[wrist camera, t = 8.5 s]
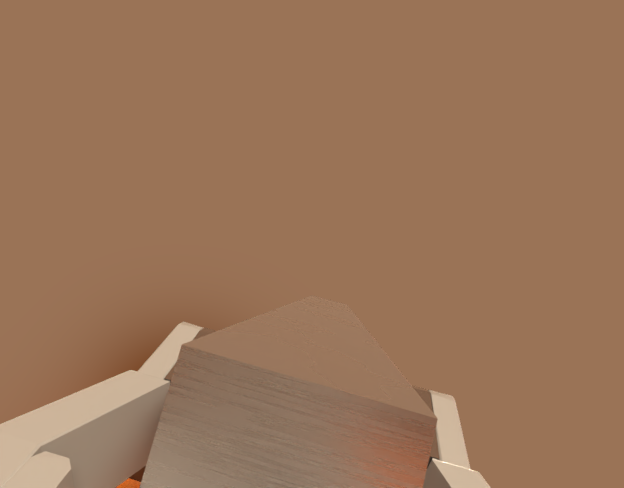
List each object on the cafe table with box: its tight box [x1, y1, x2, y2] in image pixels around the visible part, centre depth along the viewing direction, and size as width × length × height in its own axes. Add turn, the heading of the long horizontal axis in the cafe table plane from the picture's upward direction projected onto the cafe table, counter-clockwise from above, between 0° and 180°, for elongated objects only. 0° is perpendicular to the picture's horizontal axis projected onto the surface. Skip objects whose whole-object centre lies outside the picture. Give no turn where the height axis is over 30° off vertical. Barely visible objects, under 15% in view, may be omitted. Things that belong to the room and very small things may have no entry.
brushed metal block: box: [140, 296, 438, 488], centre depth 17 cm, size 26×3×3 cm, turn 176°
